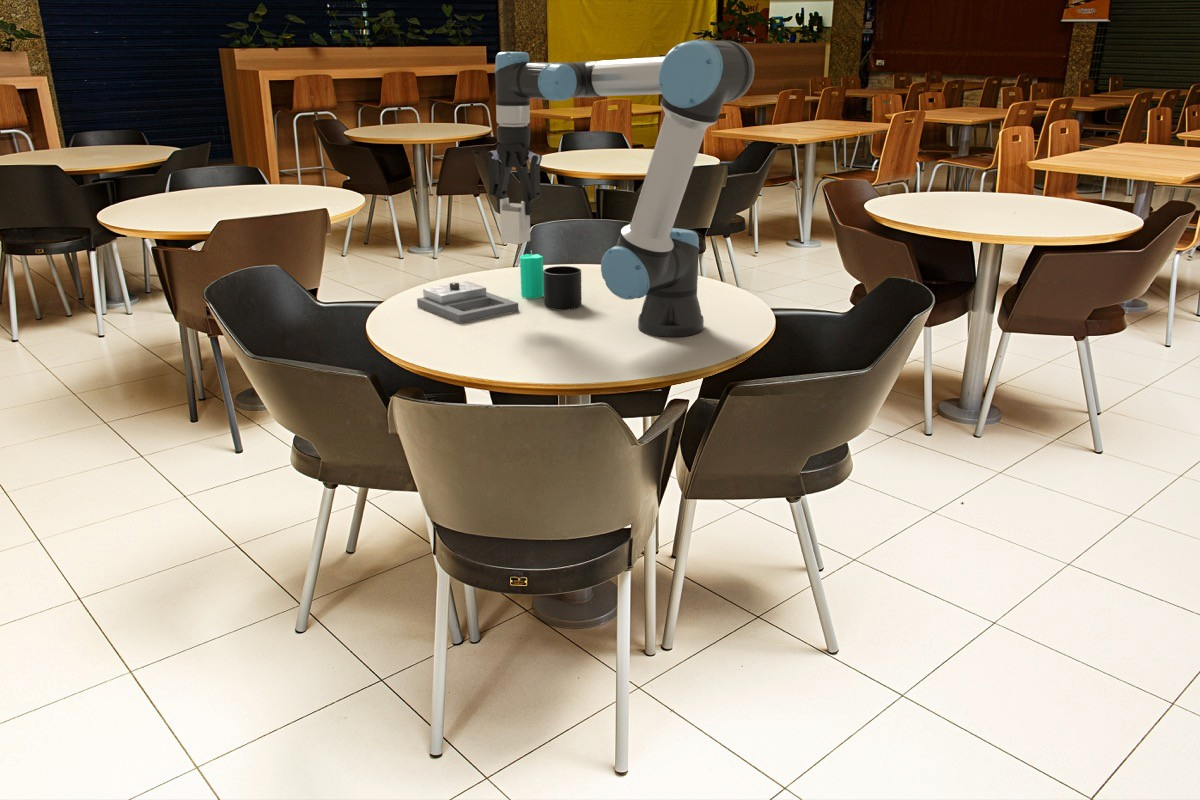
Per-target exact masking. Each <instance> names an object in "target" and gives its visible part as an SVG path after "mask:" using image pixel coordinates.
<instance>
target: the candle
mask: <svg viewBox="0 0 1200 800" xmlns="http://www.w3.org/2000/svg"><path fill="white" fill-rule="evenodd" d="M519 267H520V268H519V270H520V290H521V291H520V295H521V297H522V298H524V297H525V299H540V298H543V297H544V273H543V271H544V256H543V255H540V254H539V253H538V254H537V253H536V254H533V253H532V250H530V253H529V254H528V253H526V254H522V255H520V256H519ZM542 296H543V297H542ZM539 297H540V298H539Z"/></svg>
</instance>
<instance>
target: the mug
mask: <svg viewBox="0 0 1200 800" xmlns="http://www.w3.org/2000/svg"><path fill="white" fill-rule="evenodd" d="M543 274H544V296H543V301H544V304H543V305H544V307H546V308H547V309H550V310H551V309H552V310H555V311H557V310H558V311H566V310H567V311H568V310H569V309H570V310H575V309H577V308H580V307H581V306H582V302H583V301H582V269H581V268H578V267H575V266H568V265H567V266H566V265H563V266H562V265H560V266H559V265H557V266H551V267H548V268H546V267H545V269H543ZM570 310H569V311H570Z"/></svg>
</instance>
